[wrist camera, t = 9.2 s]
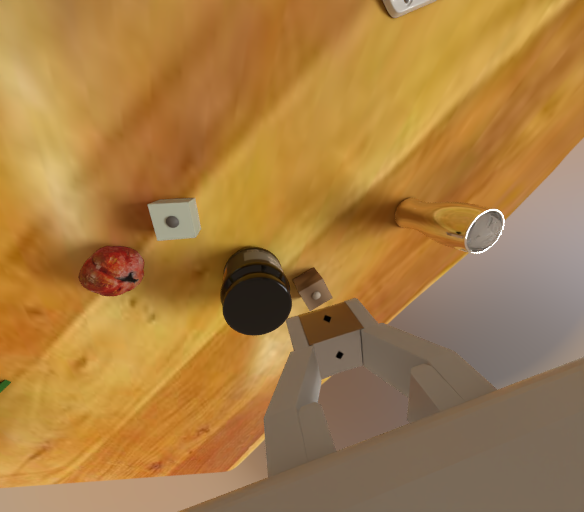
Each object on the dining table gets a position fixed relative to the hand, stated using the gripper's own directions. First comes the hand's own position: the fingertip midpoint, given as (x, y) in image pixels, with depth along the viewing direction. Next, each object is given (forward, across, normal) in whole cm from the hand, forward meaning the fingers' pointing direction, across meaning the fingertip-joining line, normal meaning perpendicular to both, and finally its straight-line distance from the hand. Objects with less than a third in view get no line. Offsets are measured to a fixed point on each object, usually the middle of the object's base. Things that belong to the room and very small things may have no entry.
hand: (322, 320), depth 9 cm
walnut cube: (+30, -5, +18) cm, 35 cm away
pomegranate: (+30, +24, +4) cm, 38 cm away
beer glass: (+31, -28, +9) cm, 43 cm away
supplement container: (+30, +5, +12) cm, 33 cm away
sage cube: (+30, +13, -1) cm, 33 cm away
